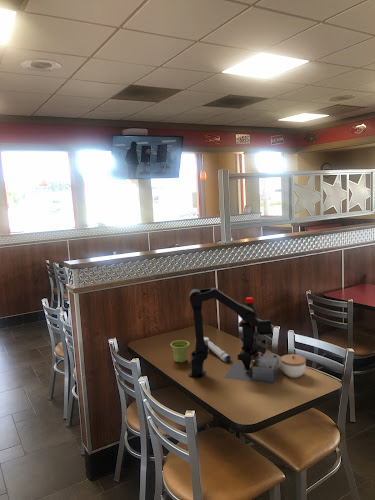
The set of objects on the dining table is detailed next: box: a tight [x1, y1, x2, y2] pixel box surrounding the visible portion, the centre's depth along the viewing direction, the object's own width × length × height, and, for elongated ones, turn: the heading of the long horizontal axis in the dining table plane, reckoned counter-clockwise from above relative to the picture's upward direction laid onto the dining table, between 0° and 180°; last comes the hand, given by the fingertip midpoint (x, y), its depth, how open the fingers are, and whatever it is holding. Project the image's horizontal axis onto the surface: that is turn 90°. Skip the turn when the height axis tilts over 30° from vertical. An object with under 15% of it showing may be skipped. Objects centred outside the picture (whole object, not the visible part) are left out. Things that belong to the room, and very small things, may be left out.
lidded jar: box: [280, 353, 307, 379], centre depth 175 cm, size 11×11×9 cm
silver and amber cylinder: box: [244, 359, 256, 371], centre depth 179 cm, size 5×10×5 cm, turn 68°
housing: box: [252, 352, 280, 383], centre depth 177 cm, size 16×9×7 cm, turn 158°
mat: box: [223, 361, 282, 385], centre depth 180 cm, size 18×22×1 cm
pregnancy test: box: [204, 336, 232, 363], centre depth 203 cm, size 5×7×25 cm
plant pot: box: [170, 340, 190, 363], centre depth 197 cm, size 9×9×9 cm
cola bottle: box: [241, 296, 259, 357], centre depth 199 cm, size 8×8×30 cm
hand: (249, 368), depth 180 cm, fingers closed on silver and amber cylinder, 5 cm apart
